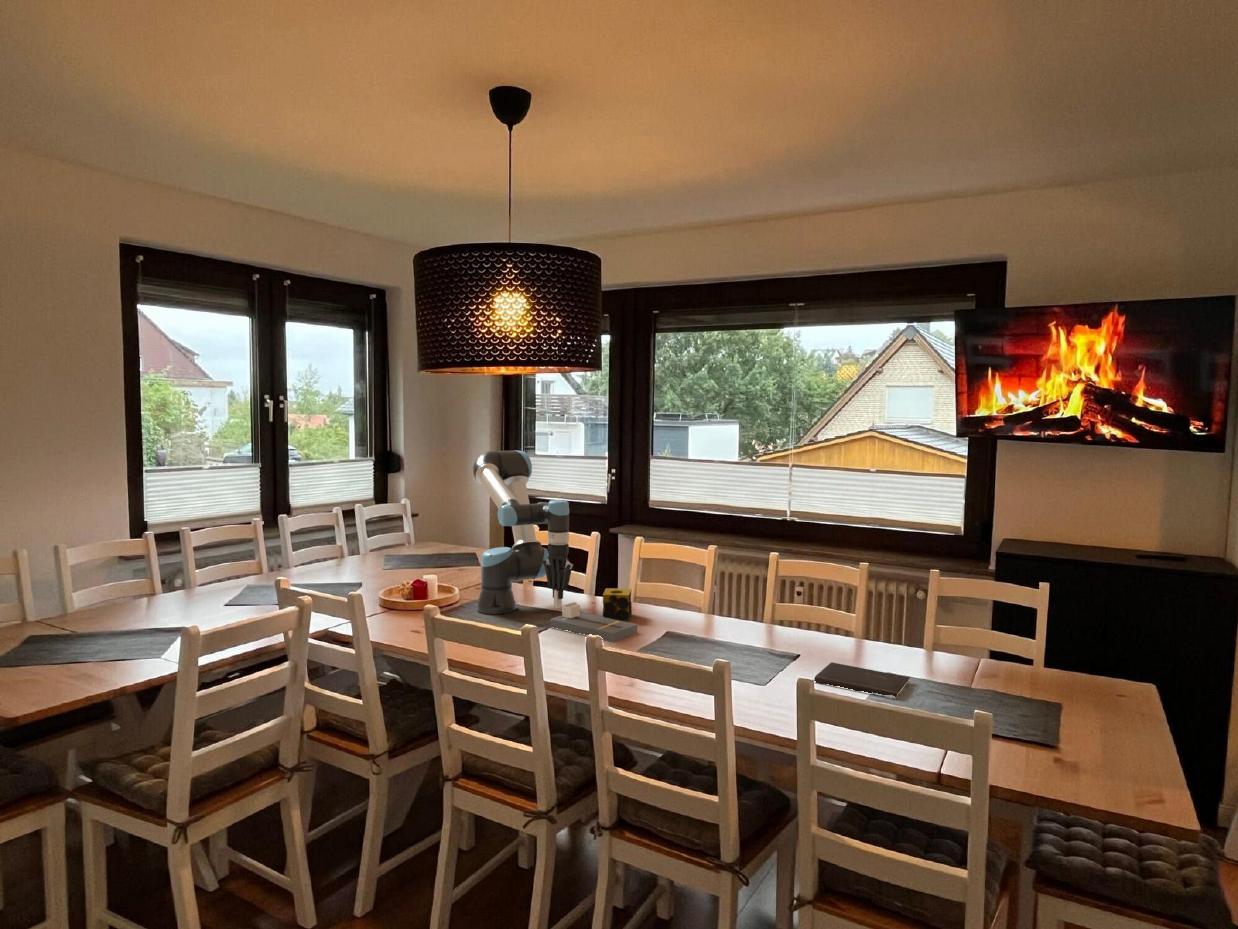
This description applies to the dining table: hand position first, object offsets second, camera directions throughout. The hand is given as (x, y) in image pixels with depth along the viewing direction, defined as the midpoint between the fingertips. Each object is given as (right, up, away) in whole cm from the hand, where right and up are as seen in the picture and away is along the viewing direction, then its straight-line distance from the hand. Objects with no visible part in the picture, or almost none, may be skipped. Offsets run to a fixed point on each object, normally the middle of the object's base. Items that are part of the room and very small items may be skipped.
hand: (557, 607), depth 280 cm
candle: (+22, -6, +8) cm, 24 cm away
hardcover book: (+93, -12, -57) cm, 110 cm away
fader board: (+13, -6, -9) cm, 17 cm away
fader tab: (+5, -3, -3) cm, 7 cm away
